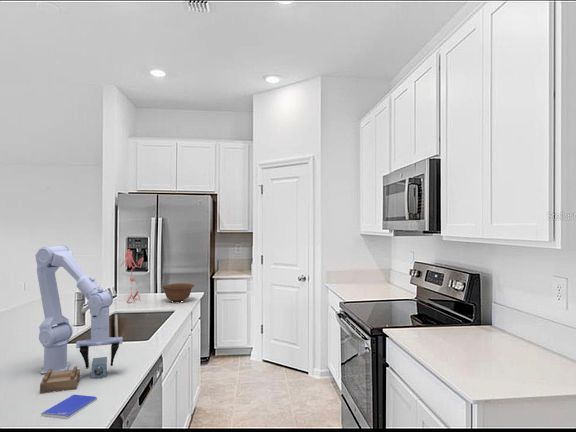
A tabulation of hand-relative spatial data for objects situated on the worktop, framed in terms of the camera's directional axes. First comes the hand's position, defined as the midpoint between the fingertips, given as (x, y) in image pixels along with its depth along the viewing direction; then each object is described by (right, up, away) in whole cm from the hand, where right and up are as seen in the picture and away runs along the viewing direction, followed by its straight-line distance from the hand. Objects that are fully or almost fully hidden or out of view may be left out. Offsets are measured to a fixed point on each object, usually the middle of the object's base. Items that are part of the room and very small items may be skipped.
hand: (99, 366), depth 144 cm
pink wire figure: (-41, -5, +132) cm, 138 cm away
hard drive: (+3, -3, -26) cm, 26 cm away
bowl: (-8, -5, +133) cm, 133 cm away
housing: (0, -3, 0) cm, 3 cm away
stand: (-8, -3, -10) cm, 13 cm away
